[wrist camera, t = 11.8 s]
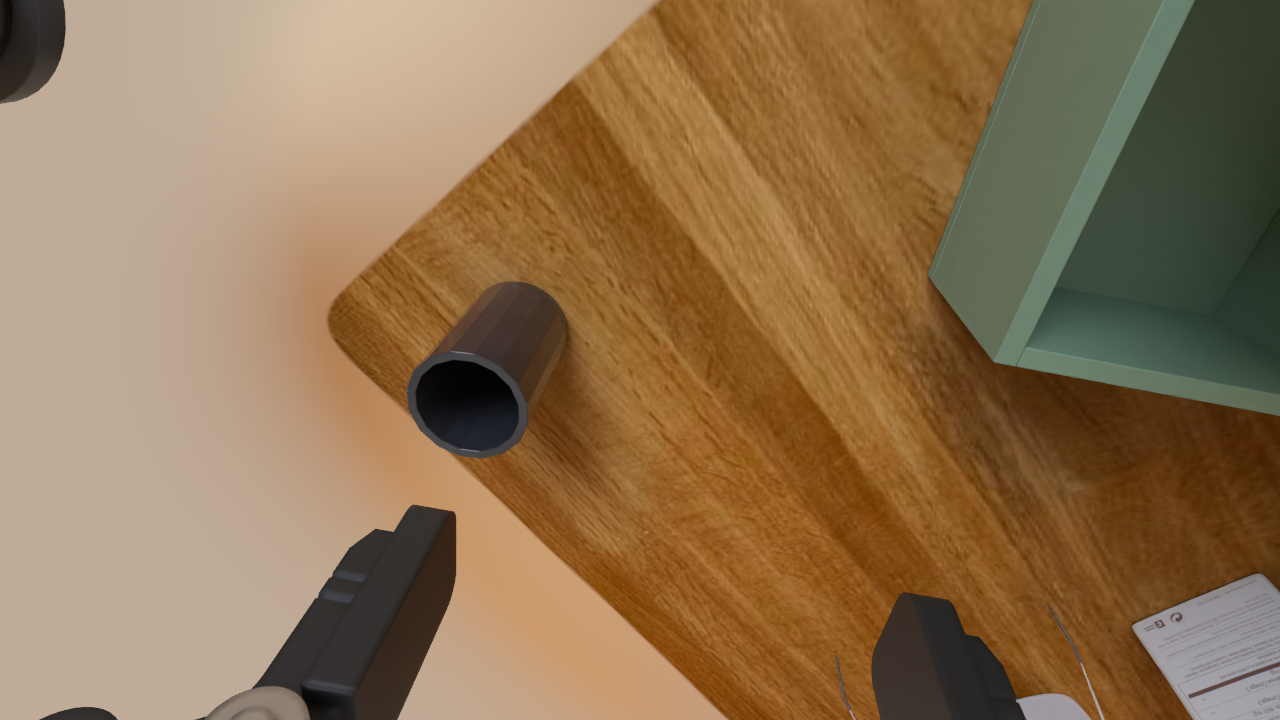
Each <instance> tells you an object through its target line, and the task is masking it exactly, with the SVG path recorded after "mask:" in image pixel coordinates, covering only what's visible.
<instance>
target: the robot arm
mask: <svg viewBox="0 0 1280 720" xmlns="http://www.w3.org/2000/svg"><path fill="white" fill-rule="evenodd" d="M11 18H12V15H11V2H10V0H0V58H1V56H2V54H3V53H4V51H5V48H6V46H7V44H8V40H9V36H10V30H11ZM455 577H456V515H455V513H454V512H453V511H447V510H441V509H436V508H430V507H424V506H418V505H412V506H411V507H409V509H408V510H407V511H406V513H405V515H404V516H403V518H402V520H401V521H400V523H399V524H398V526H397V528H396V529H395V531H394V532H390V531H385V530H379V529H375V530H374V531H372V532H371V533H369V534H368V535H367V536H365V537H364V538H363V539H361V540H360V541H358V542H357V543H356V544H354V545H353V546H352V547H350V548H349V550H348V551H347V553H346V554H345V556H344V557H343V559H342V560H341V561H340V563H339V565H338V566H337V567H336V569H335V570H334V572H333V576H332V577H331V578H329V579H328V581H327V582H326V583H325V585H324V587H323V588H322V589H321V591H320V592H319V596H318V598H315V600H314V601H313V603H312V604H311V606H310V607H309V609H308V610H307V612H306V613H305V614H304V616H303V617H302V619H301V620H300V622H299V623H298V625H297V626H296V628H295V629H294V631H293V632H292V633H291V635H290V637H289V638H288V639H287V641H286V642H285V644H284V645H283V647H282V648H281V650H280V651H279V653H278V654H277V656H276V657H275V659H274V660H273V661H272V663H271V664H270V666H269V667H268V669H267V670H266V672H265V673H264V675H263V676H262V677H261V679H260V680H259V681H258V682H257V684H256V685H255V686H254V687H253V688H252V689H250V690H247V691H244V692H242V693H239V694H237V695H235V696H233V697H231V698H230V699H228V700H226V701H225V702H223V703H222V704H220V705H219V706H218V707H216V708H215V709H214V710H213V711H212V712H211V713H210V714H209V715H208V716H206V717H203V718H200V719H197V720H397V719H398V717H399V714H400V712H401V710H402V708H403V706H404V703H405V701H406V699H407V697H408V695H409V692H410V690H411V688H412V686H413V683H414V681H415V679H416V677H417V674H418V672H419V670H420V668H421V666H422V663H423V661H424V659H425V656H426V654H427V652H428V650H429V648H430V645H431V643H432V641H433V639H434V636H435V634H436V632H437V630H438V627H439V625H440V623H441V621H442V619H443V616H444V614H445V612H446V610H447V607H448V605H449V602H450V599H451V596H452V592H453V588H454V584H455ZM872 683H873V688H874V693H875V697H876V701H877V705H878V710H879V714H880V718H881V720H1026V718H1025V715H1024V713H1023V711H1022V708H1021V706H1020V704H1019V703H1018V702H1016V695H1015V692H1014V690H1013V688H1012V686H1011V683H1010V681H1009V679H1008V677H1007V674H1006V672H1005V670H1004V667H1003V665H1002V664H1001V663H1000V662H999V661H998V659H997V658H996V657H995V656H994V655H993V653H992V652H991V651H990V650H989V648H988V647H987V646H986V645H985V644H984V642H983V641H982V640H981V639H980V638H979V637H976V636H970V635H965V632H964V630H963V627H962V625H961V622H960V620H959V617H958V615H957V612H956V610H955V608H954V606H953V604H952V603H951V602H950V601H949V600H946V599H940V598H935V597H929V596H923V595H918V594H912V593H906V592H904V593H902V594H901V595H900V596H899V597H898V599H897V601H896V603H895V605H894V607H893V610H892V612H891V614H890V616H889V618H888V620H887V623H886V625H885V627H884V629H883V631H882V633H881V636H880V638H879V640H878V642H877V644H876V647H875V649H874V653H873V658H872ZM40 720H117V719H116V717H115V716H114V715H112V714H111V713H110V712H108V711H106V710H103V709H99V708H94V707H80V708H73V709H68V710H64V711H60V712H57V713H54V714H51V715H49V716H47V717H45V718H42V719H40Z"/></svg>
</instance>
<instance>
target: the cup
mask: <svg viewBox="0 0 1280 720" xmlns="http://www.w3.org/2000/svg"><path fill="white" fill-rule="evenodd" d="M567 338H568V327H567V322H566V319H565V316H564V314H563V312H562V310H561V308H560V307H559V305H558V304H557V303H556V302H555V300H554V299H553V298H552V297H551V296H550V295H548V294H547V293H546V292H544V291H543V290H541V289H539V288H538V287H535V286H533V285H530V284H527V283H522V282H503V283H499V284H496V285H494V286H492V287H490V288H488V289H487V290H485V291H484V292H483V293H482V294H481V295H480V296H479V297H478V298H477V299H476V300H475V301H474V302H473V303H472V304H471V305H470V306H469V308H468V309H467V310H466V311H465V312H464V313H463V314H462V316H461V317H460V318H459V319H458V320H457V321H456V322H455V324H454V325H453V326H452V327H451V328H450V329H449V330H448V332H447V333H446V334H445V335H444V336H443V337H442V338H441V340H440V341H439V342H438V343H437V344H436V345H435V346H434V348H433V349H432V350H431V351H430V352H429V353H428V354H427V355H426V357H425V358H424V359H423V360H422V361H421V362H420V363H419V365H418V366H417V367H416V368H415V369H414V371H413V372H412V375H411V378H410V381H409V383H408V386H407V390H406V391H407V400H408V408H409V412H410V413H411V415H412V417H413V419H414V421H415V422H416V424H417V426H418V428H419V429H420V430H421V432H423V433H424V434H425V435H426V436H427V437H428V438H429V439H430V440H432V441H433V442H434V443H435V444H436V445H438V446H439V447H441V448H443V449H446V450H448V451H450V452H452V453H454V454H457V455H460V456H465V457H473V458H487V457H491V456H496V455H500V454H503V453H505V452H506V451H508V450H509V449H510V448H512V447H513V446H514V445H516V444H517V443H519V441H520V440H521V438H522V436H523V434H524V432H525V430H526V428H527V426H528V423H529V421H530V419H531V417H532V415H533V413H534V411H535V409H536V407H537V405H538V403H539V401H540V399H541V397H542V394H543V392H544V390H545V388H546V386H547V384H548V382H549V380H550V378H551V376H552V374H553V372H554V370H555V368H556V365H557V363H558V361H559V359H560V357H561V355H562V353H563V351H564V349H565V346H566V343H567Z"/></svg>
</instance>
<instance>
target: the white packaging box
mask: <svg viewBox="0 0 1280 720" xmlns="http://www.w3.org/2000/svg"><path fill="white" fill-rule="evenodd" d="M1132 629H1133V630H1134V632H1135V634H1136V635H1137V637H1138V638H1139V640H1140V641H1141V643H1142V644H1143V645H1144V647H1145V648H1146V650H1147V651H1148V653H1149V654H1150V656H1151V657H1152V659H1153V660H1154V662H1155V663H1156V665H1157V666H1158V667H1159V669H1160V670H1161V672H1162V673H1163V675H1164V676H1165V678H1166V679H1167V681H1168V682H1169V684H1170V686H1171V687H1172V689H1173V690H1174V692H1175V693H1176V695H1177V696H1178V698H1179V699H1180V701H1181V702H1182V704H1183V705H1184V707H1185V708H1186V710H1187V711H1188V713H1189V714H1190V716H1191V717H1192V719H1193V720H1280V592H1279V591H1278V590H1277V589H1276V587H1275V586H1274V585H1273V584H1272V583H1271V582H1270V581H1269V580H1268V579H1267V578H1266V577H1265V576H1264V575H1263V574H1261V573H1258V574H1252V575H1250V576H1248V577H1245V578H1243V579H1240V580H1237V581H1235V582H1232V583H1230V584H1228V585H1225V586H1223V587H1220V588H1218V589H1215V590H1213V591H1211V592H1208V593H1206V594H1203V595H1201V596H1198V597H1196V598H1193V599H1191V600H1189V601H1186V602H1184V603H1181V604H1179V605H1177V606H1174V607H1172V608H1169V609H1167V610H1165V611H1162V612H1160V613H1158V614H1155V615H1153V616H1151V617H1148V618H1146V619H1144V620H1141V621H1139V622H1137V623H1135V624H1133V625H1132Z"/></svg>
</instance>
